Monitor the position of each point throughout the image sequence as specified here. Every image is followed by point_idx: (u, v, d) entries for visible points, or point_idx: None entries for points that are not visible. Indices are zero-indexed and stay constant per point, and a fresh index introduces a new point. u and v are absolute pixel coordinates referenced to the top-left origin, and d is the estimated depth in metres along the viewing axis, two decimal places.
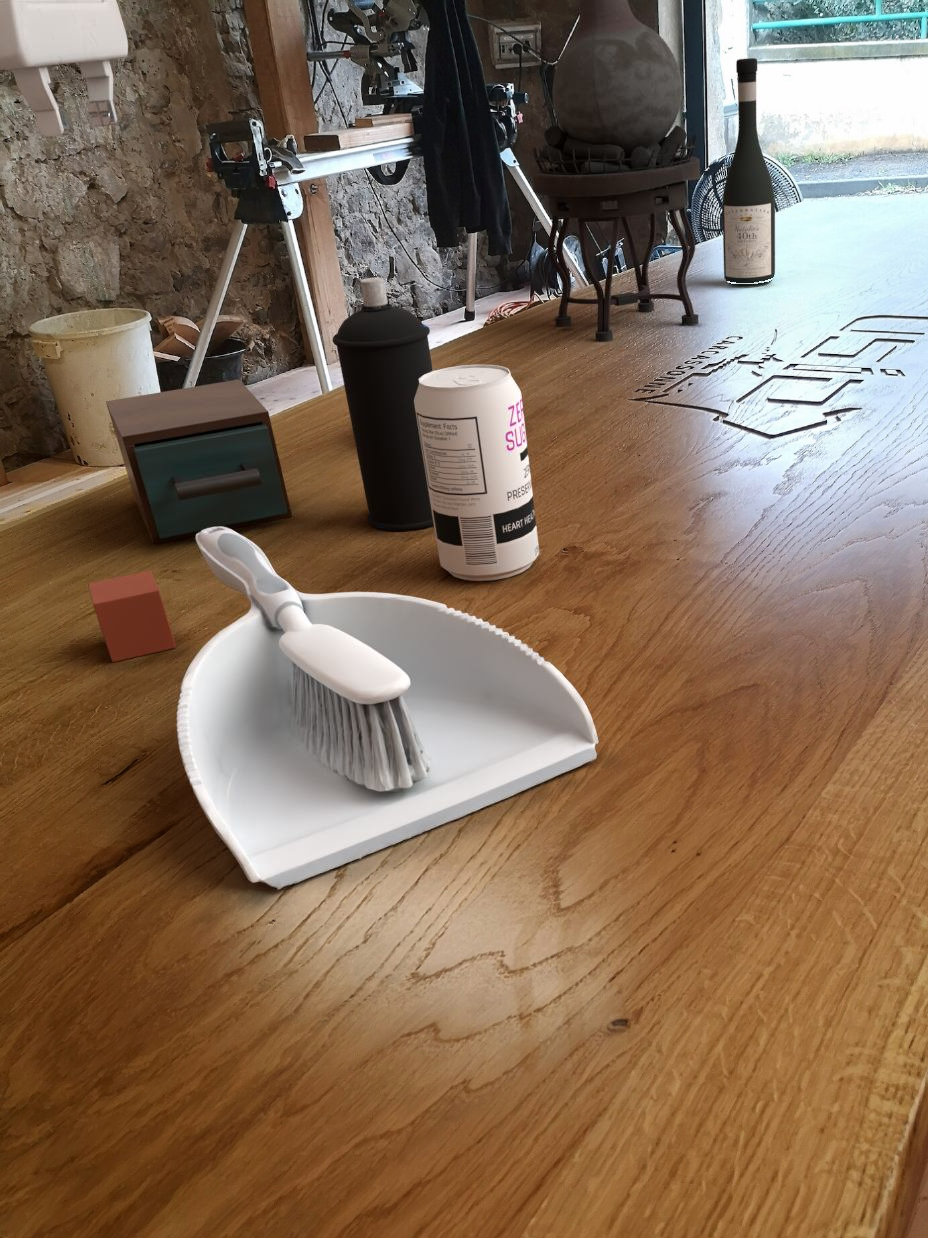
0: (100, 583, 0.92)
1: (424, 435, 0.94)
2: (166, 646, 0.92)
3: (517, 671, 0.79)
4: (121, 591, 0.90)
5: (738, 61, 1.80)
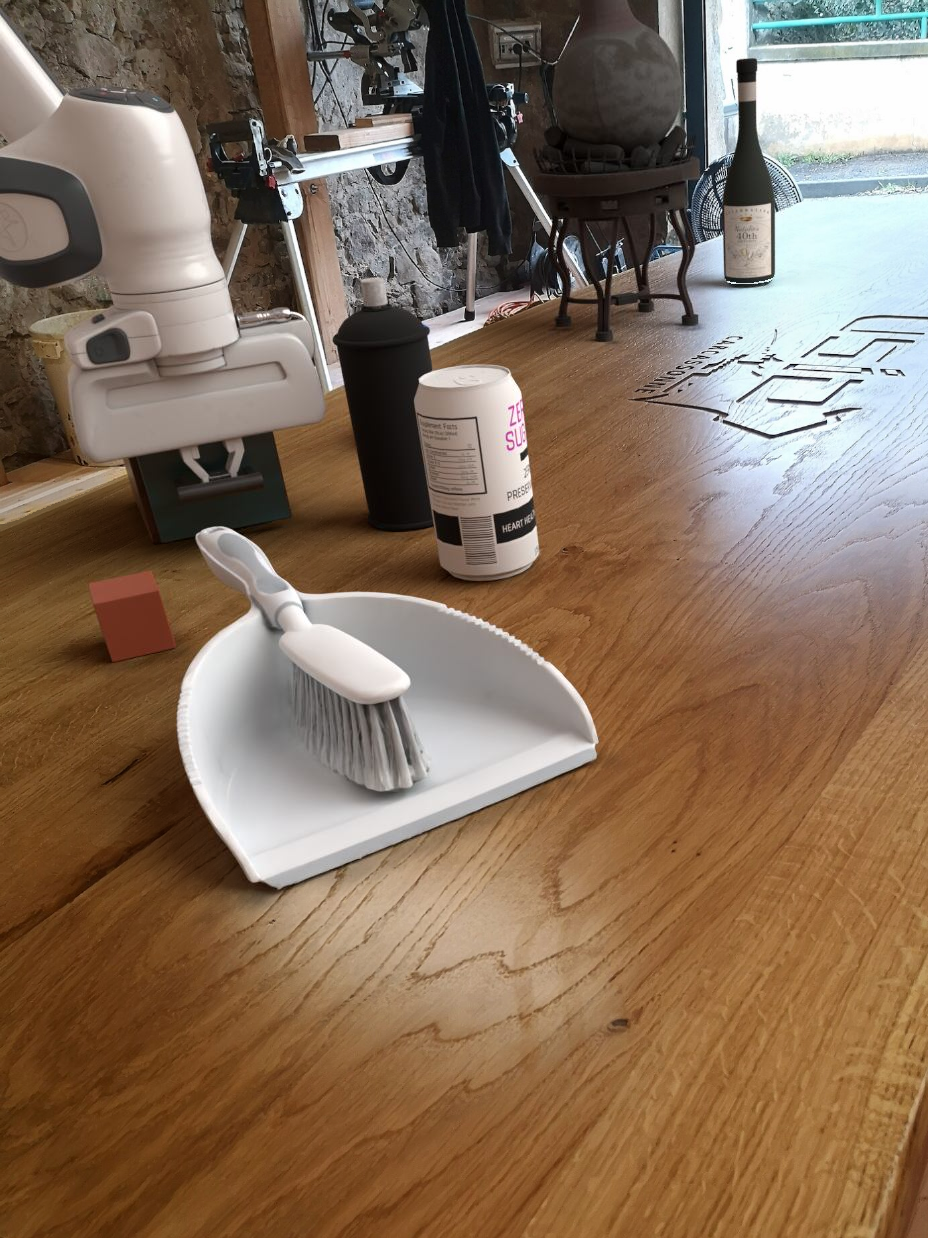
0: (100, 583, 0.92)
1: (424, 435, 0.94)
2: (166, 646, 0.92)
3: (517, 671, 0.79)
4: (121, 591, 0.90)
5: (738, 61, 1.80)
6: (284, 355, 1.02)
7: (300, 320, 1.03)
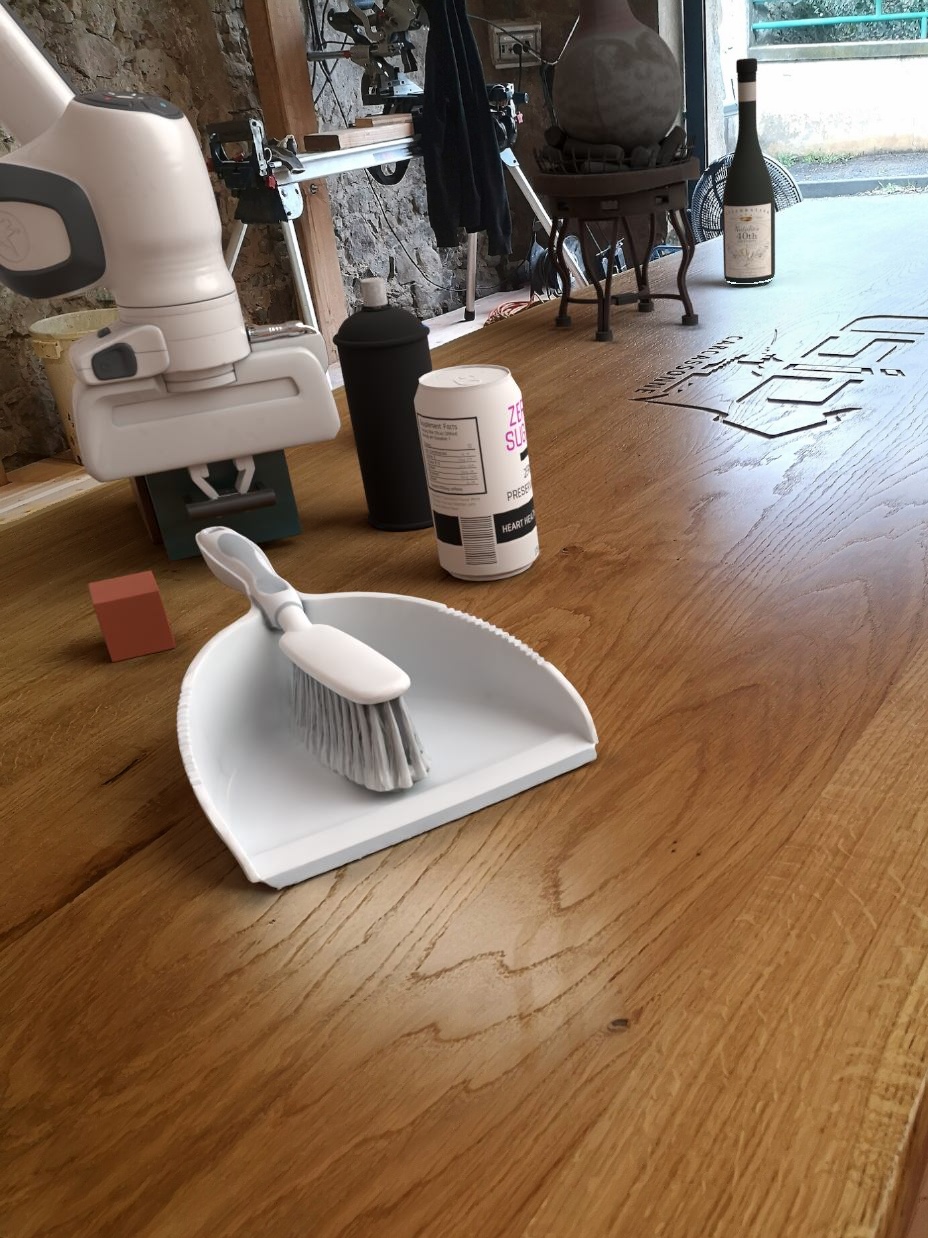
0: (100, 583, 0.92)
1: (424, 435, 0.94)
2: (166, 646, 0.92)
3: (517, 671, 0.79)
4: (121, 591, 0.90)
5: (738, 61, 1.80)
6: (297, 370, 0.98)
7: (314, 333, 0.99)
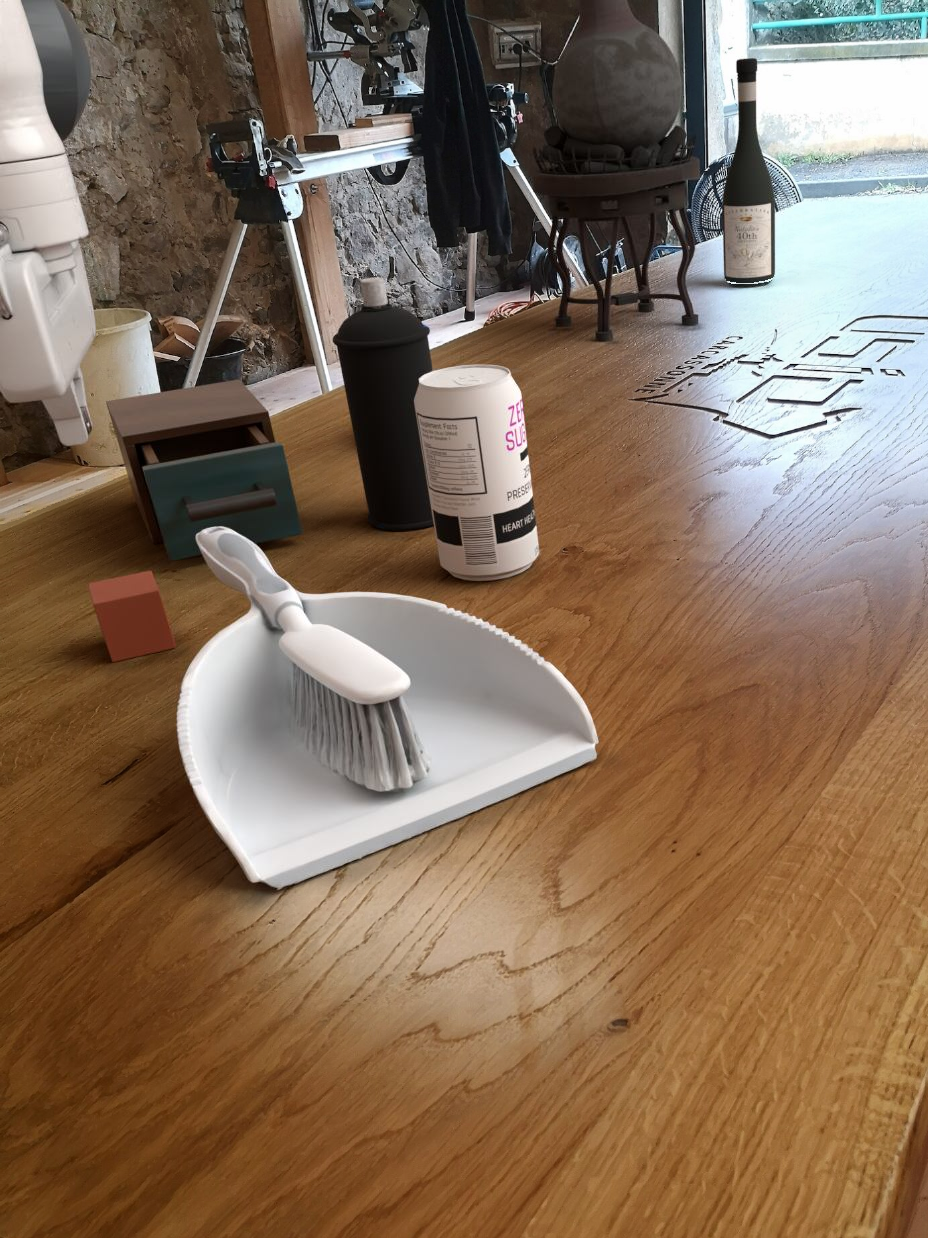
0: (100, 583, 0.92)
1: (424, 435, 0.94)
2: (166, 646, 0.92)
3: (517, 671, 0.79)
4: (121, 591, 0.90)
5: (738, 61, 1.80)
6: None
7: None
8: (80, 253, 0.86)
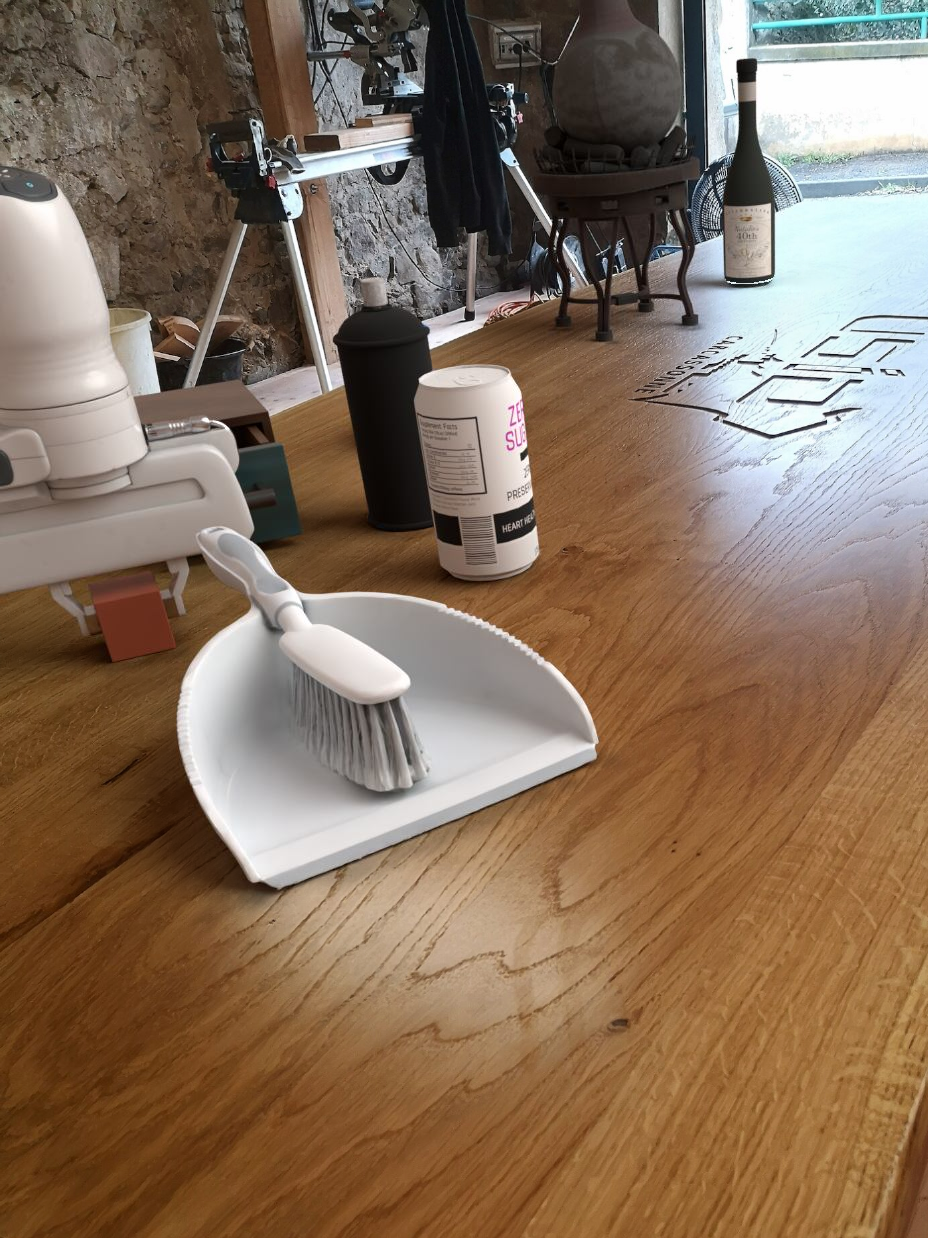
0: (100, 583, 0.92)
1: (424, 435, 0.94)
2: (166, 646, 0.92)
3: (517, 671, 0.79)
4: (121, 591, 0.90)
5: (738, 61, 1.80)
6: (202, 471, 0.88)
7: (221, 429, 0.88)
8: None
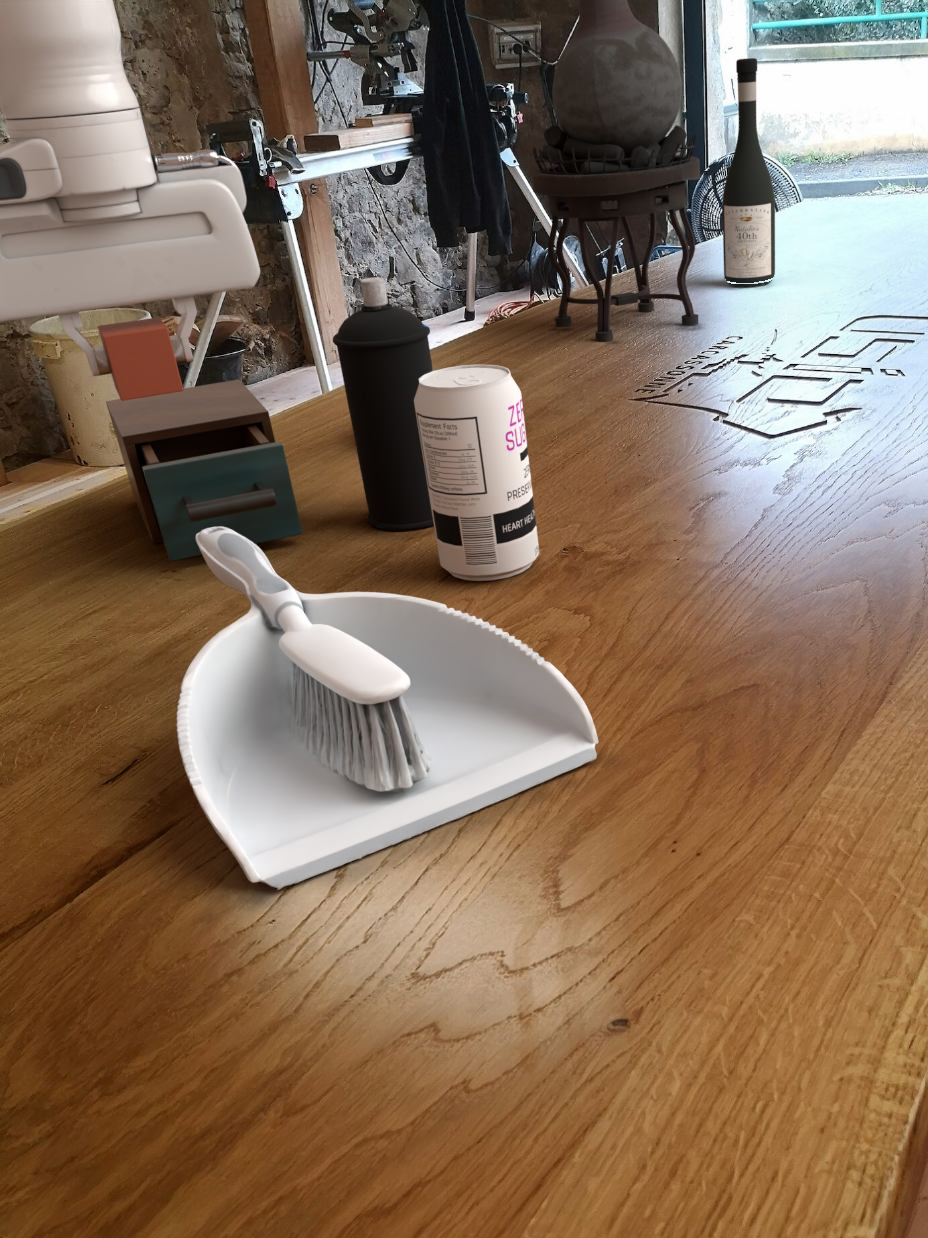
0: (109, 325, 0.94)
1: (424, 435, 0.94)
2: (174, 388, 0.94)
3: (517, 671, 0.79)
4: (130, 328, 0.92)
5: (738, 61, 1.80)
6: (210, 204, 0.90)
7: (228, 165, 0.91)
8: None
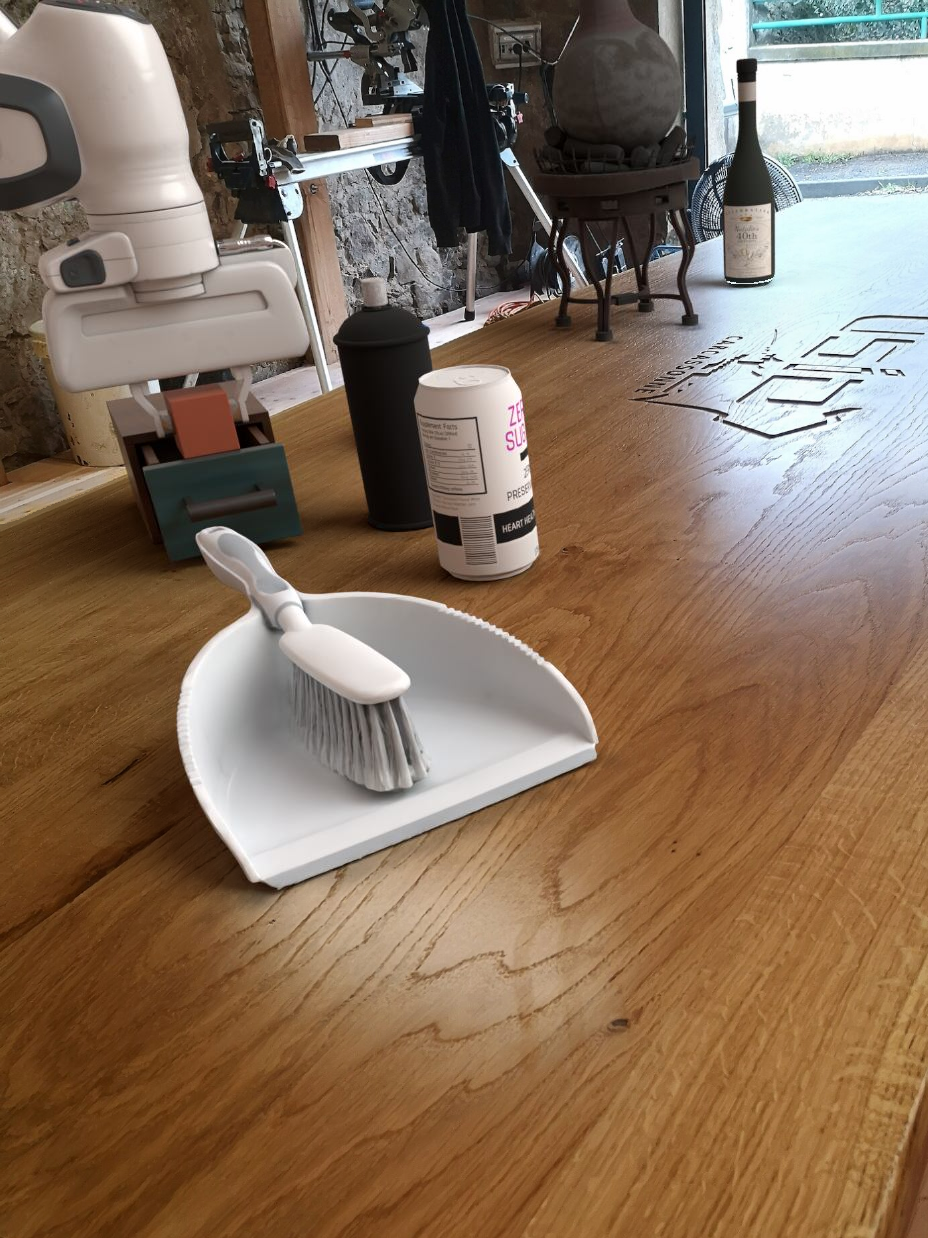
0: (173, 391, 1.04)
1: (424, 435, 0.94)
2: (231, 446, 1.04)
3: (517, 671, 0.79)
4: (192, 394, 1.02)
5: (738, 61, 1.80)
6: (266, 283, 1.00)
7: (282, 248, 1.00)
8: None
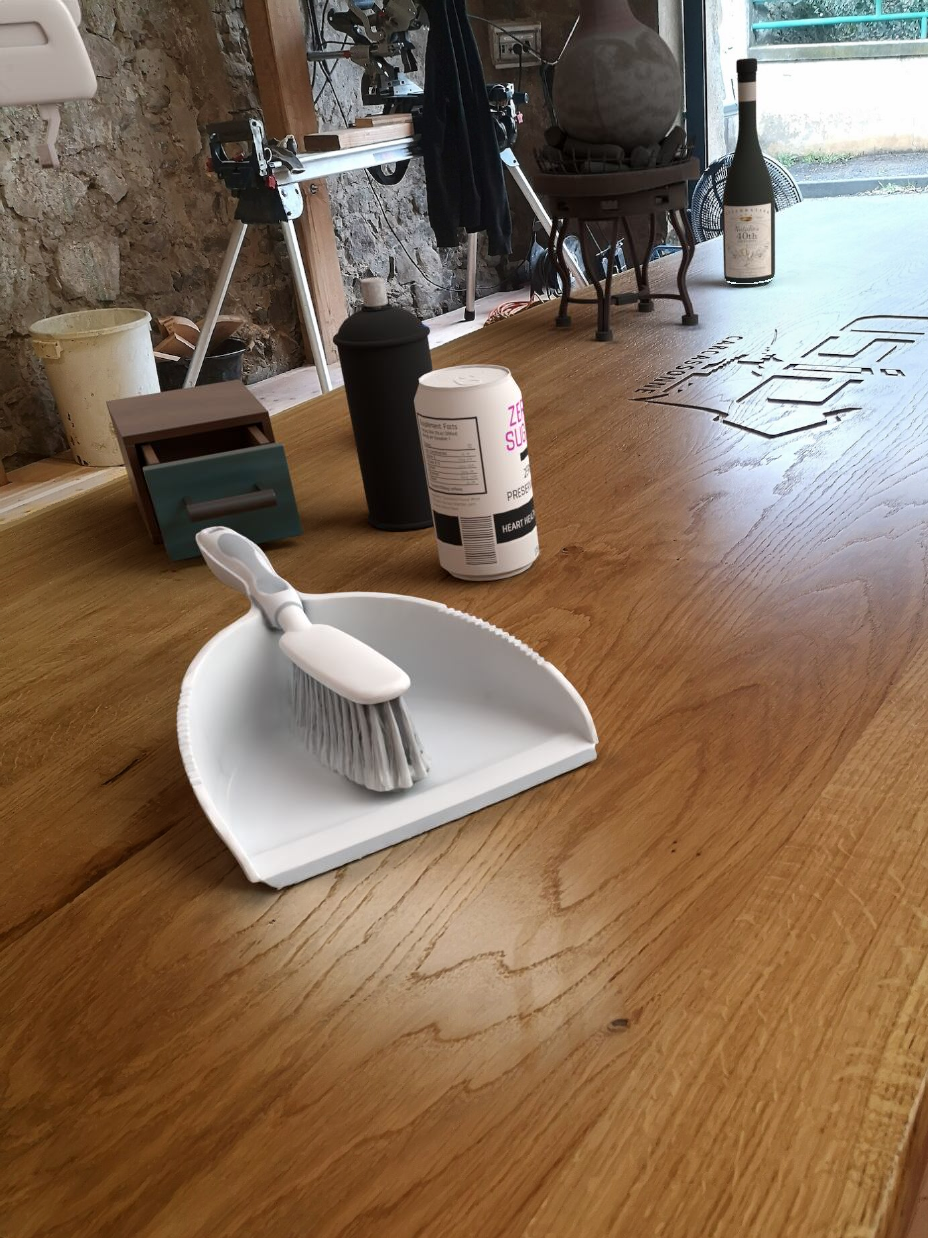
0: None
1: (424, 435, 0.94)
2: None
3: (517, 671, 0.79)
4: None
5: (738, 61, 1.80)
6: (44, 15, 0.98)
7: None
8: None
